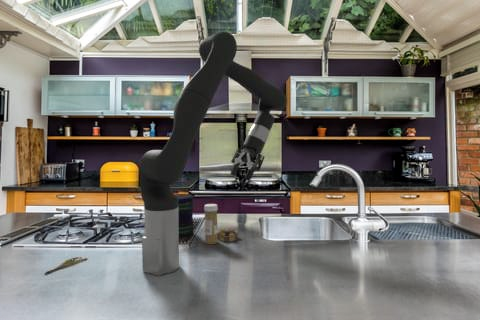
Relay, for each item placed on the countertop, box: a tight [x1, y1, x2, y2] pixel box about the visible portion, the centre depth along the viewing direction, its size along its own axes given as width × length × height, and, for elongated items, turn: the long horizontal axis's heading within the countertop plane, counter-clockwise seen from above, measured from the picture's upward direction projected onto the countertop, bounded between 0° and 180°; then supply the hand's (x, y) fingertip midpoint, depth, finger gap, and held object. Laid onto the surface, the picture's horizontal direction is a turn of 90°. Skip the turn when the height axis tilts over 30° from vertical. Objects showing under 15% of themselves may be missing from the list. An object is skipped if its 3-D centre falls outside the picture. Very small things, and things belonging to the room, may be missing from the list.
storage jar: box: [174, 193, 195, 240], centre depth 115 cm, size 10×10×15 cm
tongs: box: [43, 256, 88, 276], centre depth 87 cm, size 4×13×2 cm, turn 164°
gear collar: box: [217, 228, 238, 242], centre depth 112 cm, size 7×7×2 cm
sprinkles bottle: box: [204, 203, 219, 245], centre depth 107 cm, size 5×5×14 cm
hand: (239, 177), depth 114 cm, fingers open, 8 cm apart
